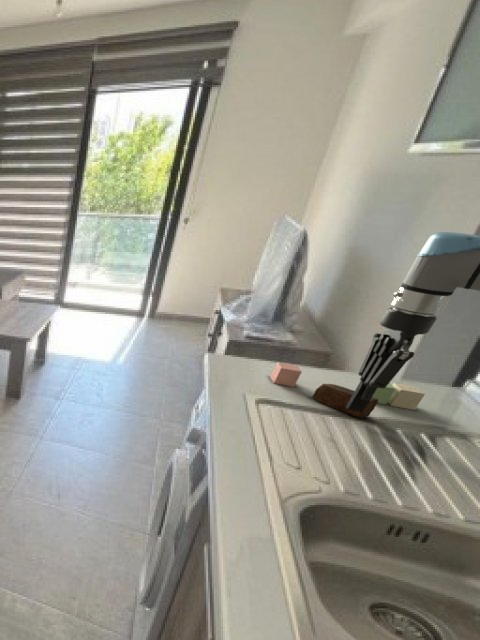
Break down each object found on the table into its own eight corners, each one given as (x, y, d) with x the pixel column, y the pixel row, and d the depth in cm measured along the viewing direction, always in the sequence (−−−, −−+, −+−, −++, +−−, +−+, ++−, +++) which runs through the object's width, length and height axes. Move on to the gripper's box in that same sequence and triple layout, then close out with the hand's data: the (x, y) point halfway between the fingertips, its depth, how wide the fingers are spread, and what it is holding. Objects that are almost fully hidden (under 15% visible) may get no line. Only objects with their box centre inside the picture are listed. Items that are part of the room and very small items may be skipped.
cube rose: (294, 387, 127) (301, 371, 125) (273, 383, 129) (281, 368, 126) (289, 380, 131) (297, 365, 128) (270, 377, 132) (277, 362, 130)
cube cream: (414, 410, 118) (425, 394, 116) (391, 405, 120) (401, 389, 117) (406, 402, 122) (416, 386, 119) (383, 398, 123) (393, 382, 121)
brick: (369, 416, 114) (380, 399, 112) (360, 419, 112) (370, 401, 110) (319, 397, 122) (328, 380, 120) (310, 399, 121) (319, 382, 119)
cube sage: (385, 404, 120) (395, 388, 118) (363, 400, 122) (372, 384, 120) (378, 397, 124) (388, 381, 121) (356, 393, 125) (366, 377, 123)
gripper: (377, 300, 106) (325, 394, 117) (403, 316, 96) (343, 417, 107) (421, 306, 103) (363, 401, 115) (453, 323, 93) (386, 426, 104)
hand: (353, 409), depth 111 cm, fingers closed
